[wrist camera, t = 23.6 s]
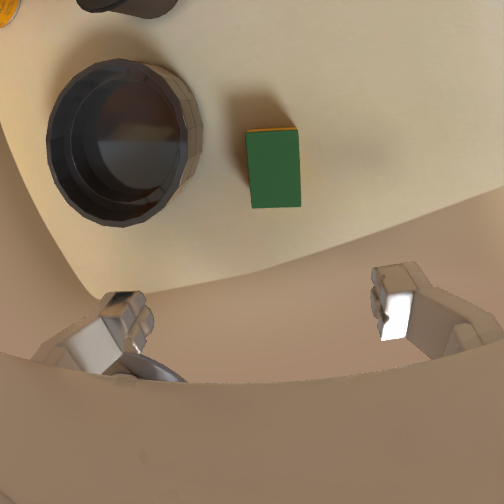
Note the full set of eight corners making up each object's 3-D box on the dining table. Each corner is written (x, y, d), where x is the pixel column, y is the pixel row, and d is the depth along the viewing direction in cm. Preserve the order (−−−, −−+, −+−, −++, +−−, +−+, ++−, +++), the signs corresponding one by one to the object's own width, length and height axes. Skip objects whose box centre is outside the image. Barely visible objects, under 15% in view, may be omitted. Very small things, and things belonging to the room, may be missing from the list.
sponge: (299, 195, 29) (301, 207, 26) (255, 197, 30) (251, 208, 27) (296, 127, 26) (298, 130, 23) (249, 129, 26) (244, 132, 23)
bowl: (236, 156, 28) (225, 167, 23) (126, 231, 33) (103, 253, 28) (151, 35, 22) (125, 25, 17) (57, 129, 27) (27, 138, 23)
